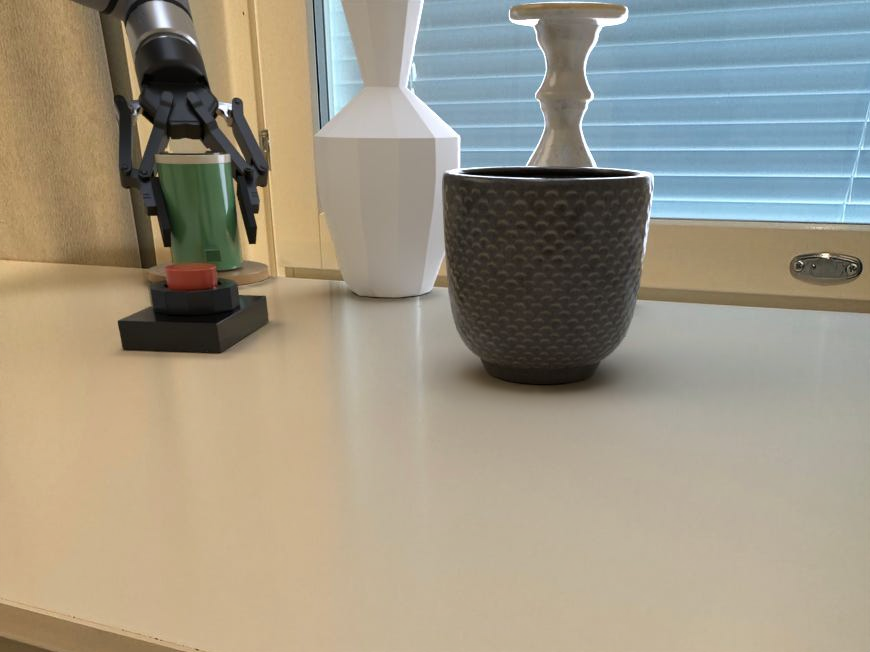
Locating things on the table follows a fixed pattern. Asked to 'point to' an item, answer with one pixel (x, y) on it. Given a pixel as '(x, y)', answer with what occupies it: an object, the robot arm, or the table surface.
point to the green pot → (200, 207)
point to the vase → (385, 161)
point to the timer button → (191, 276)
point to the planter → (544, 265)
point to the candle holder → (565, 73)
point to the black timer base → (193, 319)
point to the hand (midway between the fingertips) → (210, 236)
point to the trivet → (223, 273)
